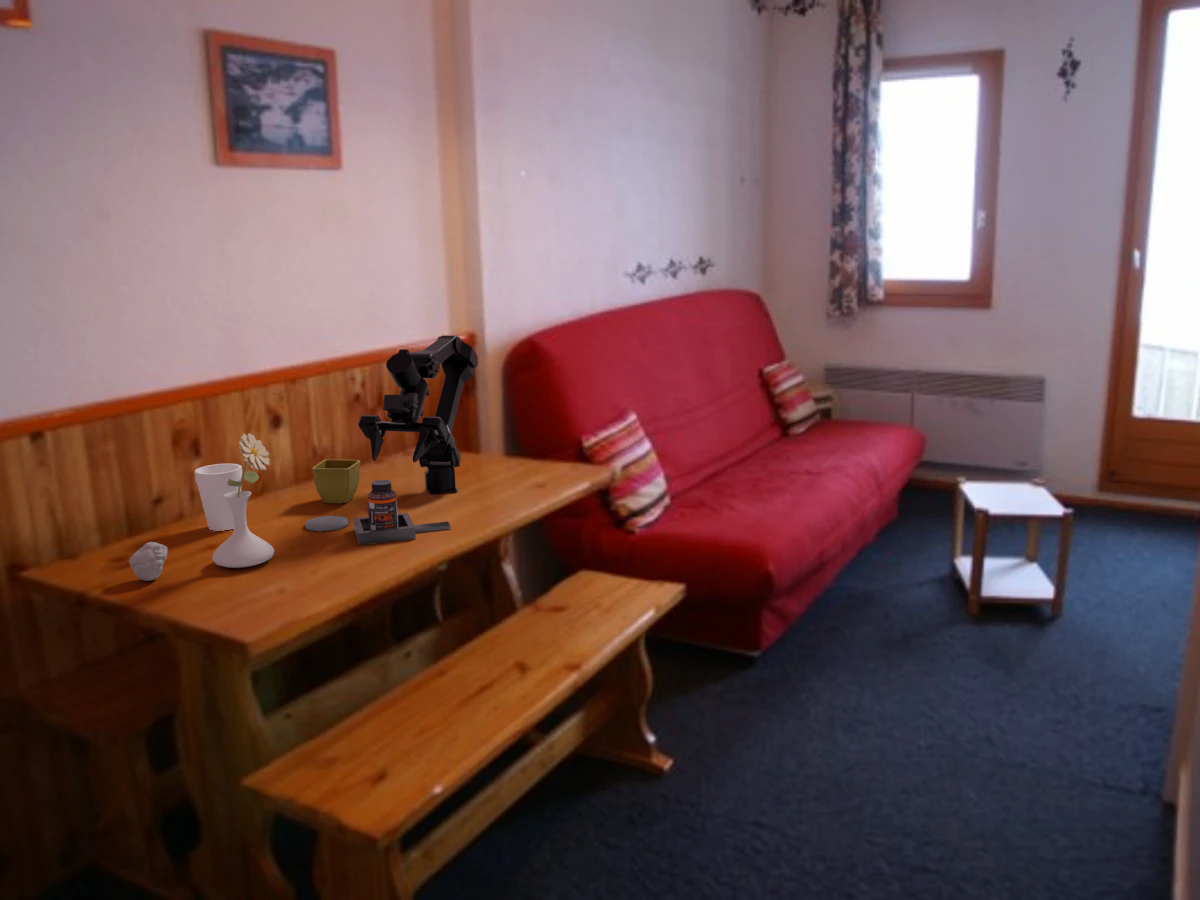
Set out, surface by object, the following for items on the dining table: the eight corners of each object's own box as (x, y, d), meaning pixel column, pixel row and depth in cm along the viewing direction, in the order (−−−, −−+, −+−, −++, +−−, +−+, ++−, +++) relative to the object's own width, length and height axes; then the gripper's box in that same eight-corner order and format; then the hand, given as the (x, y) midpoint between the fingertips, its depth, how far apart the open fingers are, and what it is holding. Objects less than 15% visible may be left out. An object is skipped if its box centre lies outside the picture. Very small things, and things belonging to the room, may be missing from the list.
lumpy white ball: (177, 578, 192) (172, 542, 190) (140, 588, 187) (135, 551, 185) (161, 571, 196) (157, 535, 194) (125, 581, 191) (120, 545, 189)
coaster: (346, 517, 228) (346, 514, 228) (350, 529, 220) (349, 525, 220) (304, 522, 225) (304, 518, 225) (306, 533, 217) (305, 530, 217)
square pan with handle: (444, 519, 225) (444, 508, 224) (454, 534, 214) (453, 523, 214) (354, 529, 219) (353, 518, 219) (359, 545, 209) (358, 533, 208)
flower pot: (363, 496, 245) (360, 459, 243) (351, 506, 237) (348, 468, 235) (327, 496, 246) (324, 459, 244) (314, 506, 238) (311, 468, 236)
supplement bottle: (374, 540, 212) (370, 487, 209) (366, 532, 217) (362, 480, 214) (402, 535, 214) (399, 483, 212) (394, 528, 219) (390, 476, 217)
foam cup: (256, 523, 225) (251, 465, 222) (225, 535, 217) (218, 475, 214) (223, 519, 229) (217, 462, 226) (191, 530, 221) (184, 471, 218)
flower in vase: (240, 577, 192) (226, 445, 186) (200, 567, 198) (185, 439, 192) (294, 556, 203) (283, 432, 197) (255, 547, 209) (242, 426, 203)
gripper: (358, 378, 224) (339, 438, 216) (440, 379, 220) (423, 441, 212) (376, 408, 233) (358, 466, 225) (454, 409, 229) (439, 469, 221)
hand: (393, 460), depth 220 cm, fingers open, 9 cm apart
